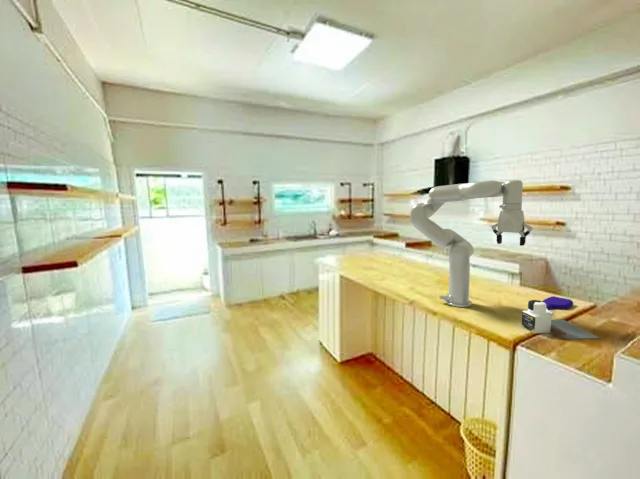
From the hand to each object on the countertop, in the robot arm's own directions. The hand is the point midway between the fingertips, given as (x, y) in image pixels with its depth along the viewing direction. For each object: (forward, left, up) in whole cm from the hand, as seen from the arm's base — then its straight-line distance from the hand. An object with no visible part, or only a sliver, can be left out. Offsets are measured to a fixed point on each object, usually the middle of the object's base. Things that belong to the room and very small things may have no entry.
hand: (510, 244), depth 144 cm
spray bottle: (+24, +4, -33) cm, 41 cm away
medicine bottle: (-1, -22, -33) cm, 39 cm away
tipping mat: (+10, -22, -32) cm, 40 cm away
